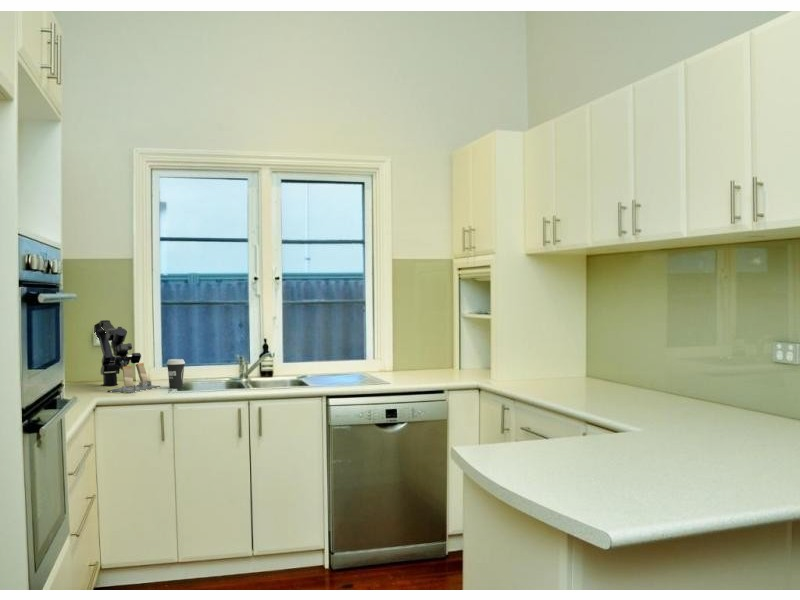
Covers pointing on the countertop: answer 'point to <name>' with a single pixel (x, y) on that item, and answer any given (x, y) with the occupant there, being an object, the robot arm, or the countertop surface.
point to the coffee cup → (175, 373)
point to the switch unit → (135, 387)
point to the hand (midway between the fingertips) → (125, 371)
